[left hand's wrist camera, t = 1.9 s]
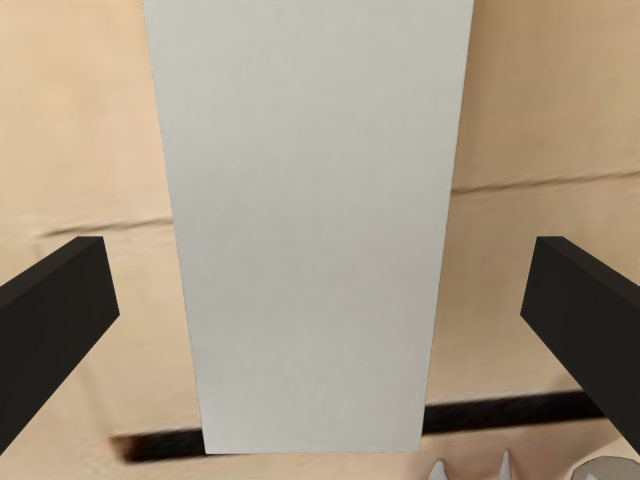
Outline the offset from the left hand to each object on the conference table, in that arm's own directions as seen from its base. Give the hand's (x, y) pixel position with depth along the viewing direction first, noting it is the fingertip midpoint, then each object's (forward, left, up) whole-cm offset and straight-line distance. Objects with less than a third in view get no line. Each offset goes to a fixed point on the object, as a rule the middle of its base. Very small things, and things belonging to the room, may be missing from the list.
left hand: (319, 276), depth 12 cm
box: (+6, +4, -8) cm, 10 cm away
